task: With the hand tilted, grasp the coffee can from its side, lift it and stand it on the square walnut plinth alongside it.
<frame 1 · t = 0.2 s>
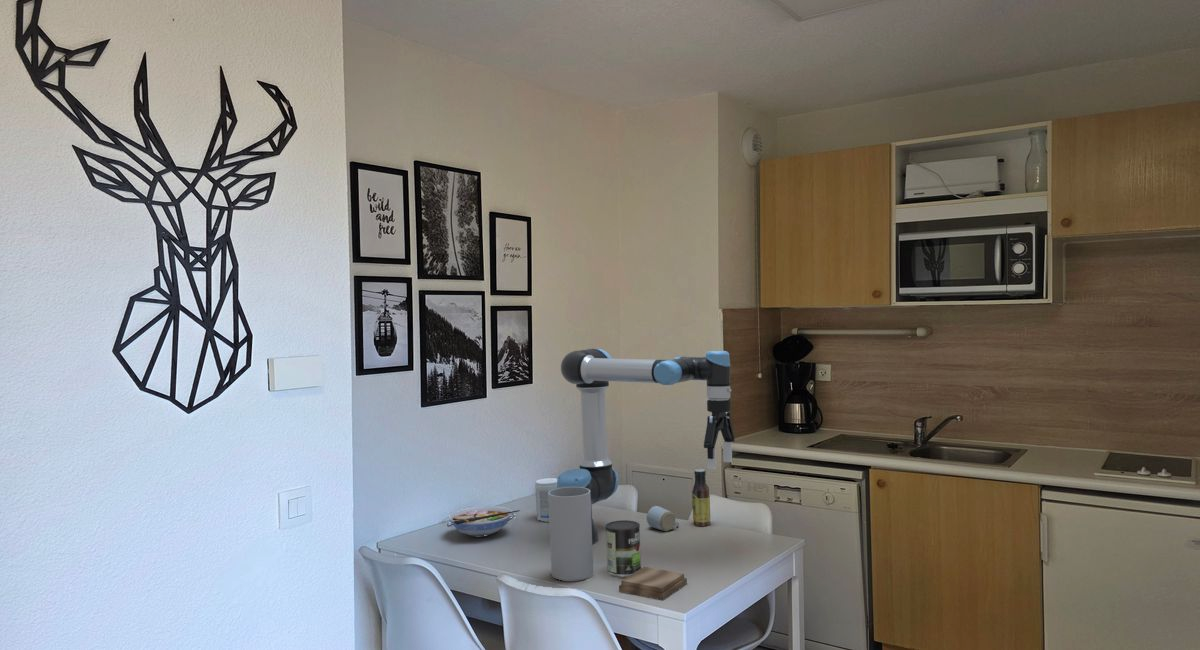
hand: (720, 465, 252), 27 cm above the table, tool pointing down, fingers open, 13 cm apart
ramen bowl: (481, 534, 281), on the table
supplement tub: (549, 519, 298), on the table
cylinder vase: (572, 575, 234), on the table
walnut plinth: (653, 587, 221), on the table
sauce bottle: (701, 525, 282), on the table
ceramic mug: (664, 529, 280), on the table
coffee can: (624, 571, 236), on the table
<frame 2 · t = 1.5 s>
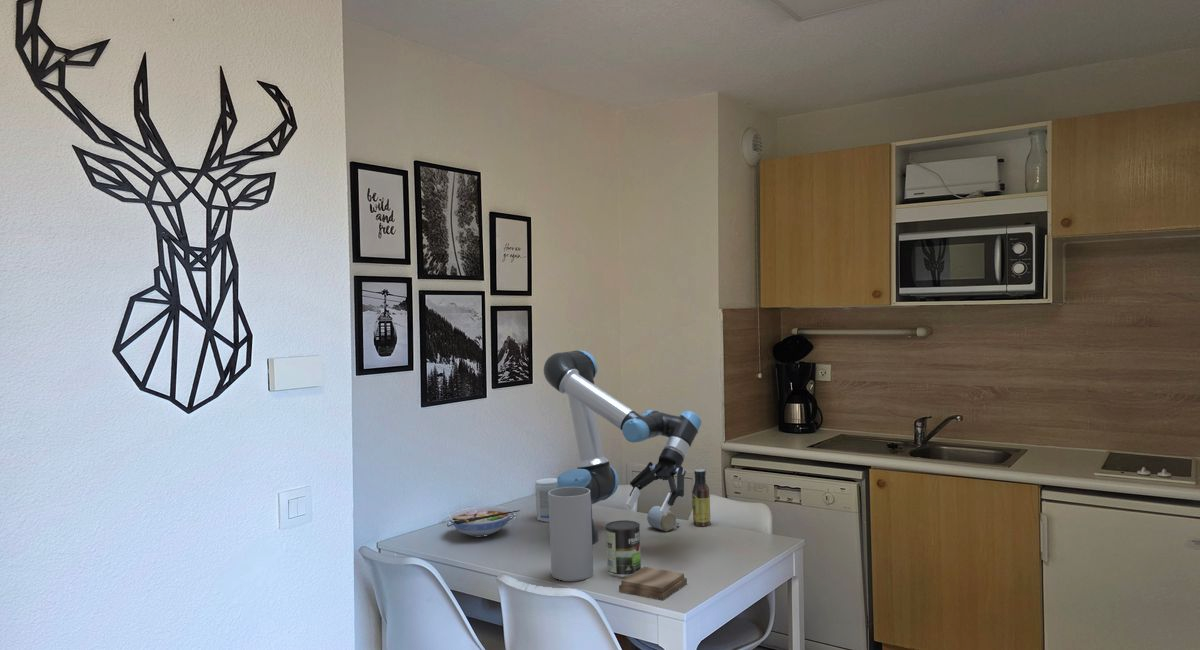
hand: (645, 510, 243), 16 cm above the table, tool tilted 45°, fingers open, 13 cm apart
nothing on the table moved.
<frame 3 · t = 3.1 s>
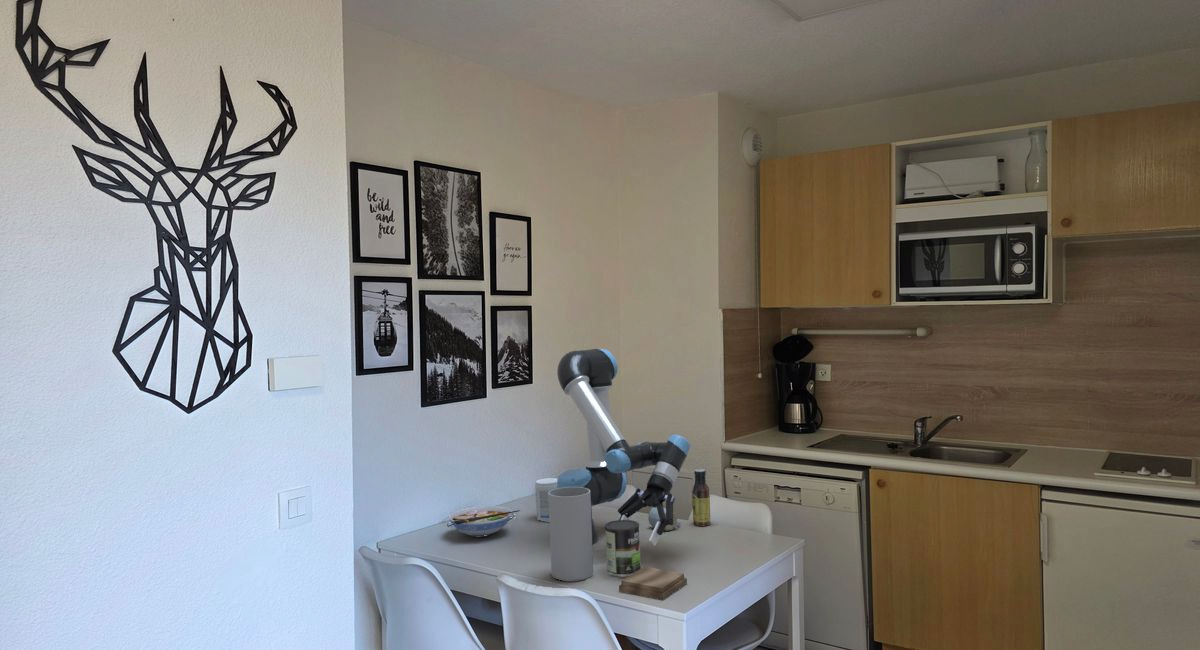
hand: (634, 539, 236), 9 cm above the table, tool tilted 45°, fingers open, 13 cm apart
coffee can: (624, 571, 236), on the table, touching gripper
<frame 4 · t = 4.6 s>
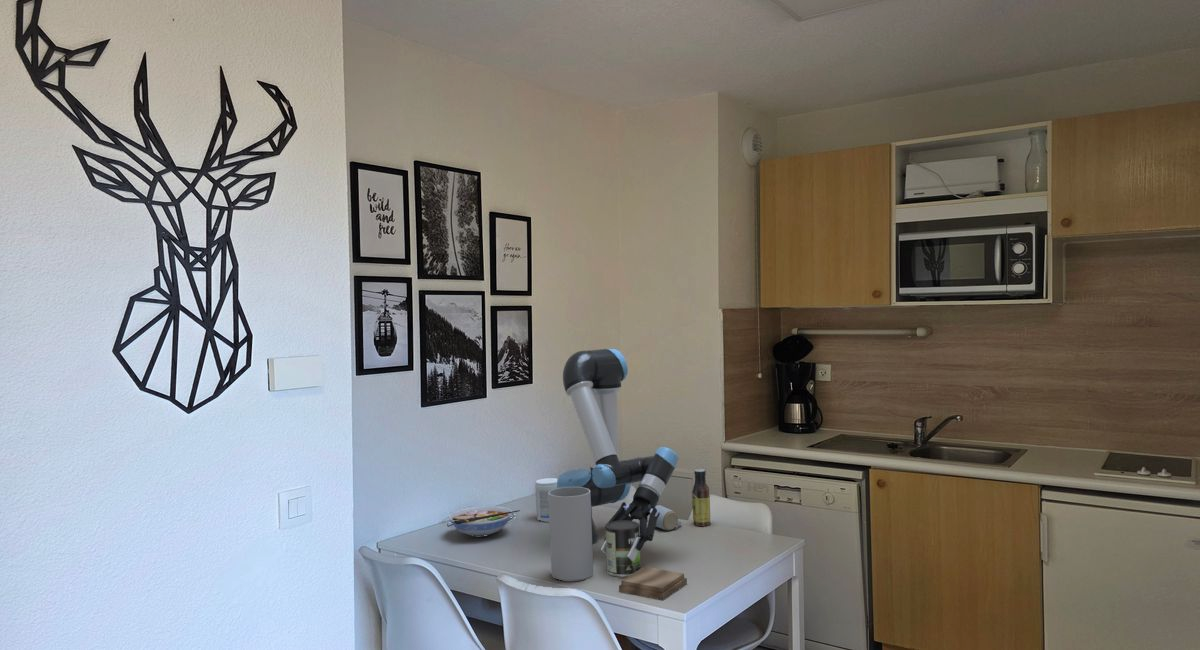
hand: (616, 555, 234), 6 cm above the table, tool tilted 45°, fingers closed on coffee can, 10 cm apart
coffee can: (623, 571, 236), on the table, touching gripper
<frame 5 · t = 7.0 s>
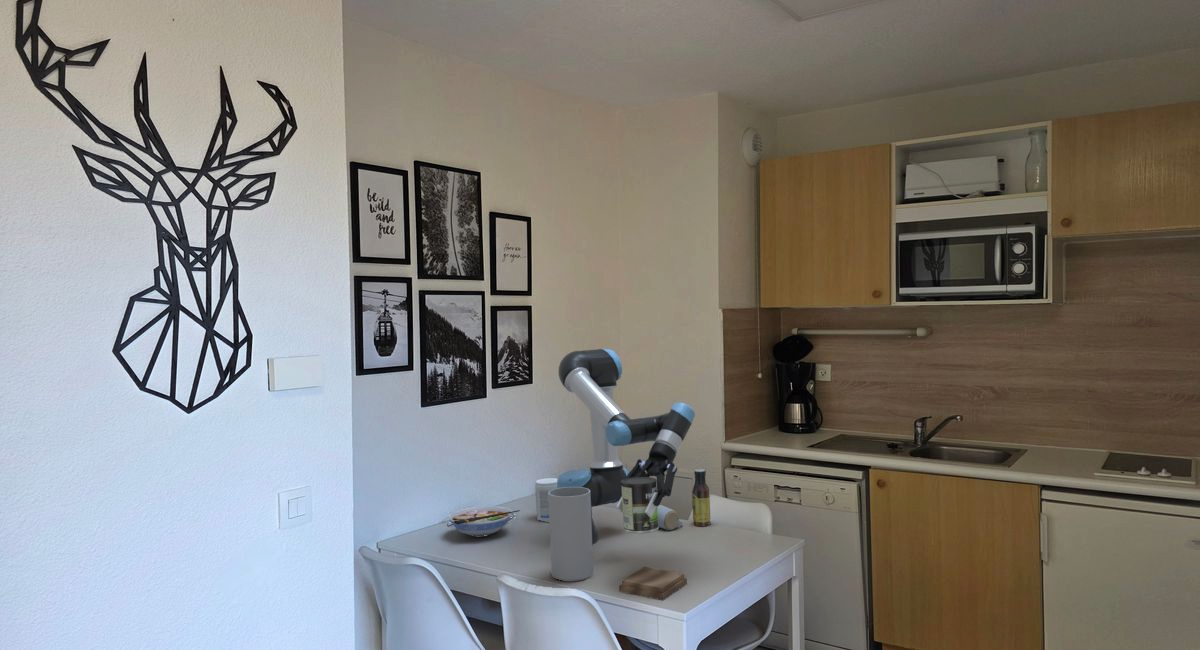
hand: (633, 512, 224), 21 cm above the table, tool tilted 45°, fingers closed on coffee can, 10 cm apart
coffee can: (641, 529, 226), point 15 cm above the table, touching gripper
when the fingers open (10 cm above the table, at t = 9.7 s): coffee can drops 1 cm, resting on walnut plinth.
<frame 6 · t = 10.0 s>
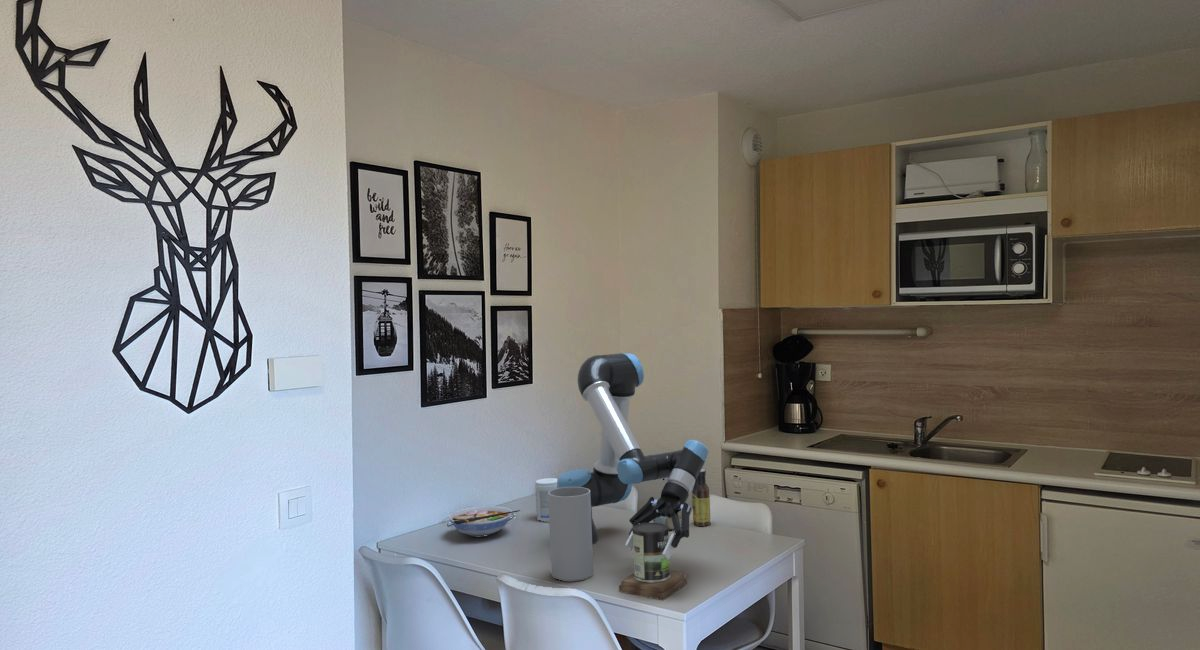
hand: (646, 552, 219), 11 cm above the table, tool tilted 45°, fingers open, 13 cm apart
coffee can: (652, 577, 221), point 3 cm above the table, touching walnut plinth
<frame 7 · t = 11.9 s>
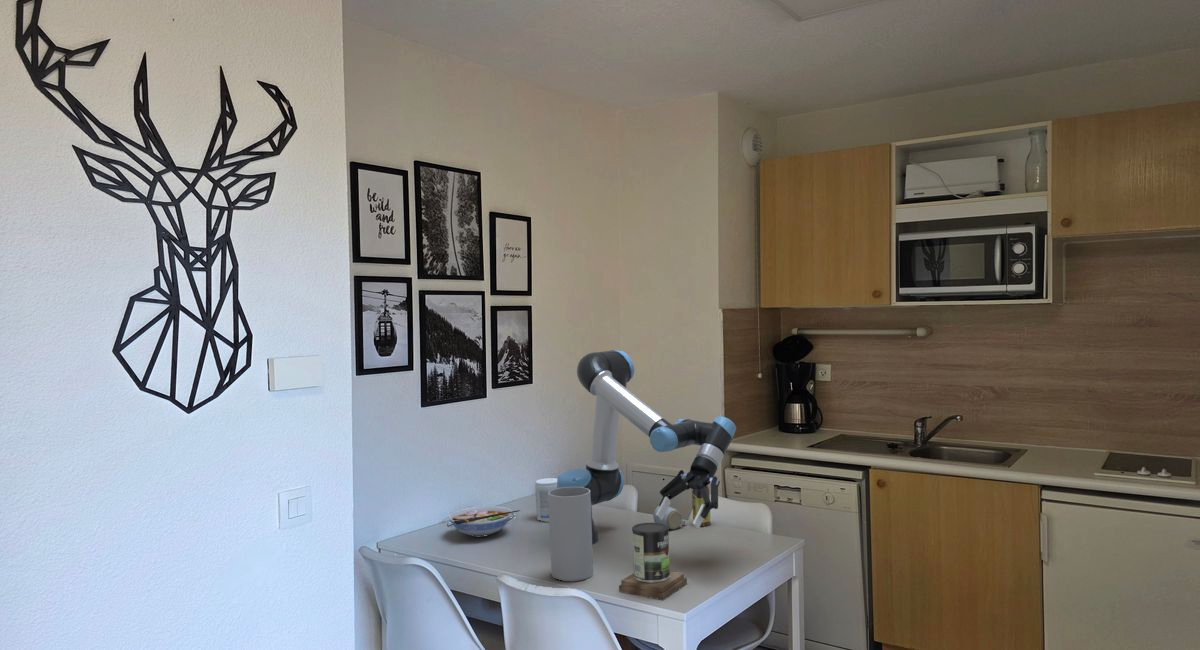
hand: (676, 521, 230), 16 cm above the table, tool tilted 45°, fingers open, 13 cm apart
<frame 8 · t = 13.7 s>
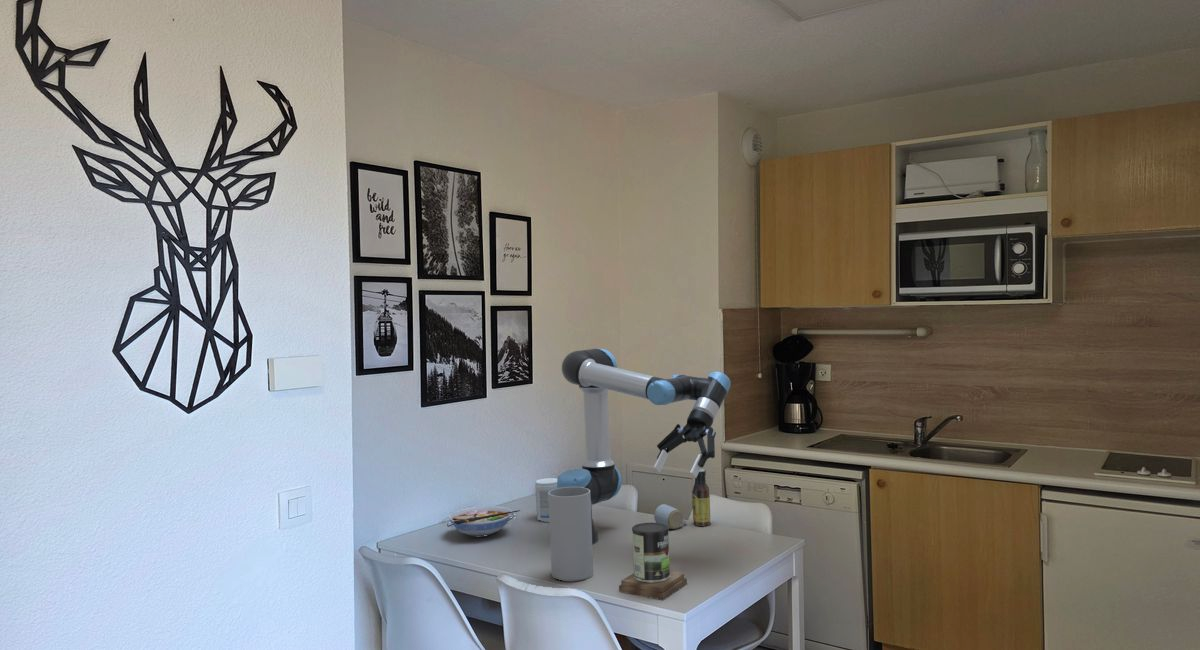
hand: (674, 472, 233), 30 cm above the table, tool tilted 45°, fingers open, 13 cm apart
at the end: coffee can inside the target area on the walnut plinth (0.3 cm from its centre), point 2.8 cm above the walnut plinth's base; coffee can tilted 0°; the gripper is holding nothing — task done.
